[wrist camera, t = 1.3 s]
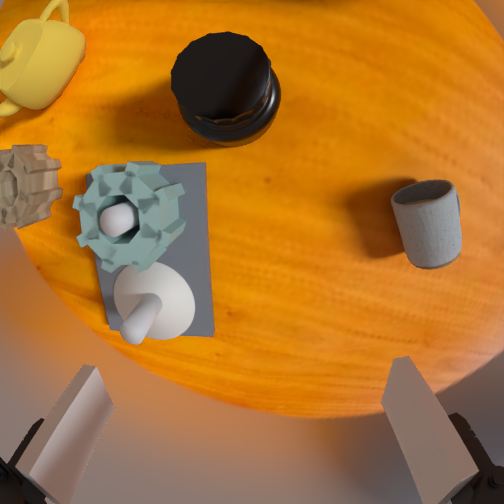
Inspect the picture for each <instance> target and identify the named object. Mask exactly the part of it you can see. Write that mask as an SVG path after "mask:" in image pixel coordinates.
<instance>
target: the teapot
mask: <svg viewBox="0 0 504 504" xmlns="http://www.w3.org/2000/svg"><path fill="white" fill-rule="evenodd" d="M55 8H57V9H58V10H59V13H60V18H61V22H60V21H57V20H51V19H48V17H49V16H50V14H51V13H52V12H53V10H54V9H55ZM85 49H86V41H85V37H84V35H83V34H82V33H81V32H80V31H79V30H78V29H76V28H74V27H73V26H71V25H69V4H68V0H52V1H51V2H50V3H49V4H48V5H47V7H46V8H45V9H44V11H43V12H42V14H41V16H40V17H39V19H27V20H24V21H22V22H21V23H20V24H19V25H18V26H17V27H16V28H15V29H14V30H13V32H12V33H11V34H10V36H9V37H8V39H7V40H6V42H5V43H4V45H3V47H2V48H1V50H0V91H1V92H2V93H3V94H4V95H5V96H7V98H6V99H5V100H4V101H3V102H2V103H1V104H0V117H7V116H11V115H13V114H16V113H17V112H18V111H20V110H21V109H22V108H23V107H26V108H29V109H33V110H41V109H43V108H45V107H47V106H49V105H50V104H51V103H53V102H54V101H55V100H56V99H58V98H59V97H60V96H61V94H62V92H63V90H64V88H65V87H66V86H67V84H68V83H69V81H70V80H71V78H72V77H73V75H74V73H75V72H76V70H77V68H78V66H79V64H80V63H81V62H82V61H83V59H84V57H85Z"/></svg>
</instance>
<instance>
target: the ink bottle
mask: <svg viewBox="0 0 504 504" xmlns="http://www.w3.org/2000/svg"><path fill="white" fill-rule="evenodd" d="M171 90H172V91H173V93H174V95H175V97H176V99H177V102H178V107H179V111H180V113H181V115H182V117H183V119H184V121H185V122H186V123H187V125H188V126H189V127H190V128H191V129H192V130H193V131H194V132H196V133H197V134H198V135H200V136H202V137H203V138H205V139H207V140H209V141H211V142H213V143H215V144H218V145H221V146H226V147H238V146H243V145H247V144H249V143H251V142H253V141H255V140H257V139H258V138H260V137H261V136H262V135H263V134H264V133H265V132H266V131H267V130H268V129H269V128H270V126H271V125H272V123H273V121H274V119H275V116H276V114H277V111H278V108H279V105H280V101H281V88H280V83H279V80H278V78H277V76H276V74H275V72H274V71H273V69H272V68H271V61H270V59H268V57H267V55H266V53H265V52H264V50H263V47H262V46H261V45H258V44H257V43H256V42H254V41H253V40H251V39H250V38H249V37H248V36H245V35H240V34H236V33H231V32H221V33H213V34H212V33H209V34H207V35H206V36H203V37H201V38H199V39H197V40H195V41H192V42H190V43H189V45H188V46H187V47H186V48H185V49H184V50H183V51H182V52H181V53H179V54H178V56H177V59H176V61H175V64H174V66H173V69H172V70H171Z"/></svg>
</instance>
